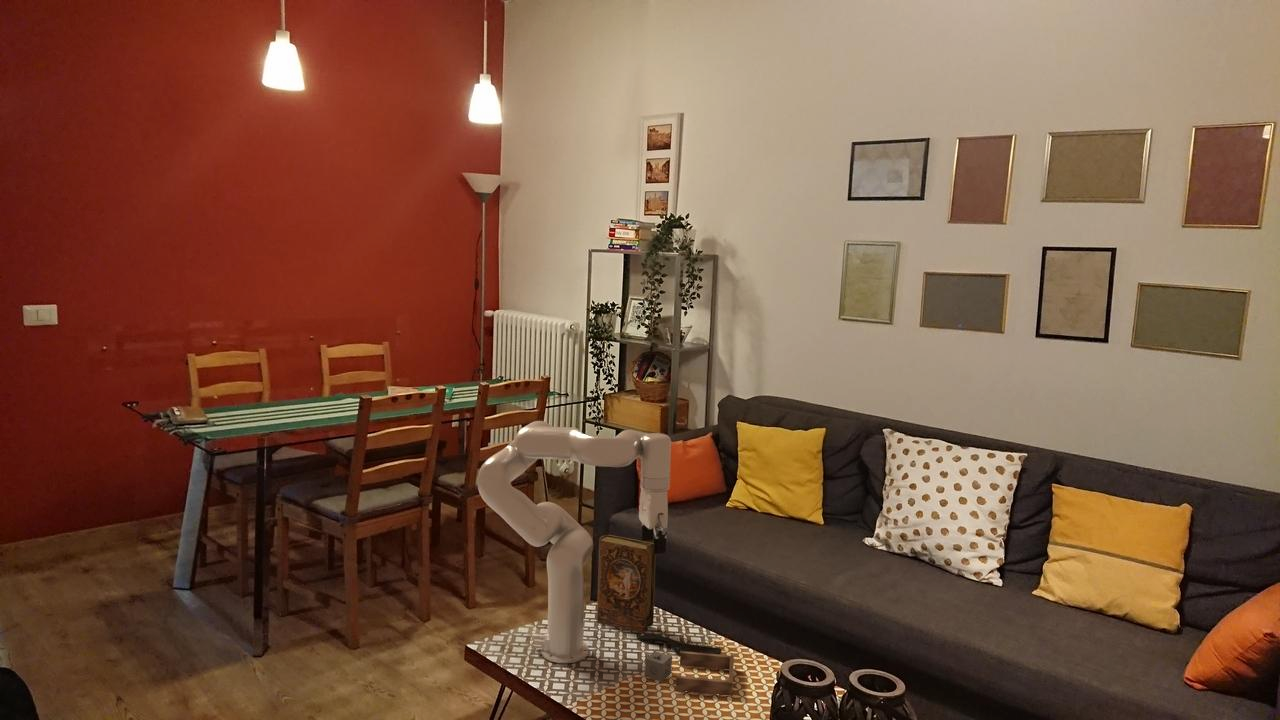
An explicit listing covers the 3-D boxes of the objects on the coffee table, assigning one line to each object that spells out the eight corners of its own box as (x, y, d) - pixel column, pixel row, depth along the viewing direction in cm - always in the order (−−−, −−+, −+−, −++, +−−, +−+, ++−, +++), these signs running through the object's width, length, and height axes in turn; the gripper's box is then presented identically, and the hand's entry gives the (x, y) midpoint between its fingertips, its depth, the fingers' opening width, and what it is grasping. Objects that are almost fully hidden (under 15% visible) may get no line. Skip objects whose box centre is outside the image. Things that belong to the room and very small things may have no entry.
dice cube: (644, 677, 212) (645, 658, 211) (654, 669, 216) (654, 650, 216) (662, 682, 209) (662, 664, 209) (671, 674, 214) (671, 656, 213)
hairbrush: (645, 623, 237) (726, 641, 225) (645, 636, 237) (726, 654, 225) (631, 635, 229) (714, 654, 217) (631, 648, 230) (714, 667, 218)
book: (594, 622, 242) (596, 539, 239) (602, 615, 247) (605, 534, 244) (645, 634, 235) (648, 549, 232) (653, 626, 240) (656, 543, 237)
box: (675, 690, 206) (676, 677, 205) (679, 663, 219) (680, 651, 219) (732, 696, 204) (733, 683, 203) (733, 668, 218) (733, 655, 217)
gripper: (631, 474, 219) (629, 536, 221) (651, 492, 203) (649, 559, 205) (658, 472, 222) (656, 534, 224) (680, 490, 205) (678, 557, 207)
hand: (653, 546), depth 214 cm, fingers open, 9 cm apart
